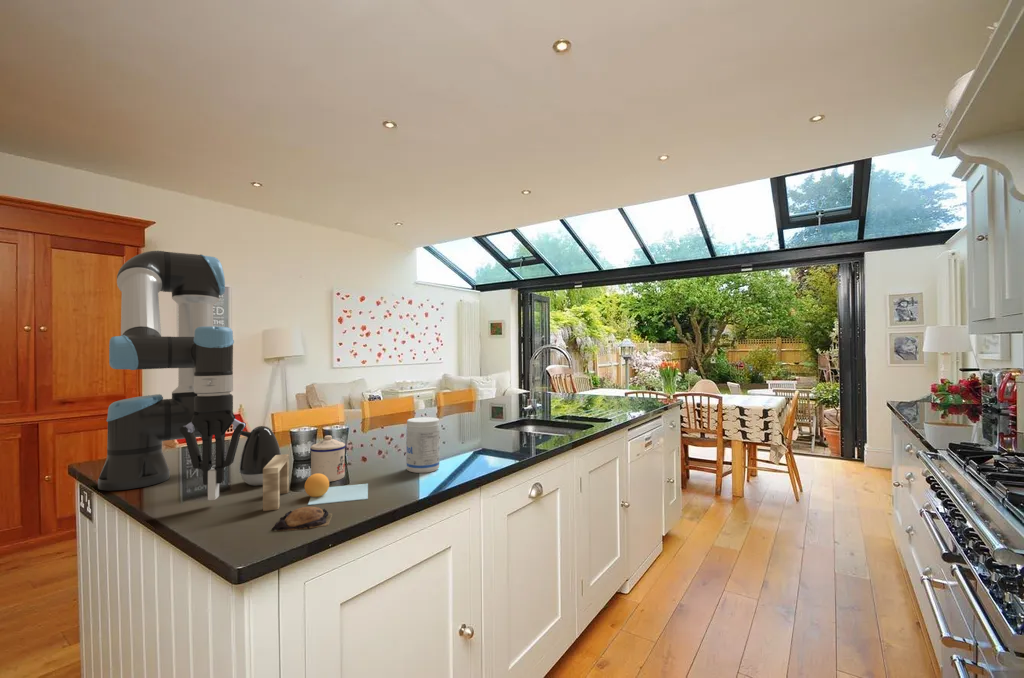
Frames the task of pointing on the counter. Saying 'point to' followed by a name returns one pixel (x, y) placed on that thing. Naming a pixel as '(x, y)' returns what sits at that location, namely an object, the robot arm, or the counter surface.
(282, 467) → the bridge
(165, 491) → the counter surface
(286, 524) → the mussel
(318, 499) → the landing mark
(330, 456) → the teacup with lid
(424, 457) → the supplement tub
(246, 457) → the pump dispenser
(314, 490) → the ball
